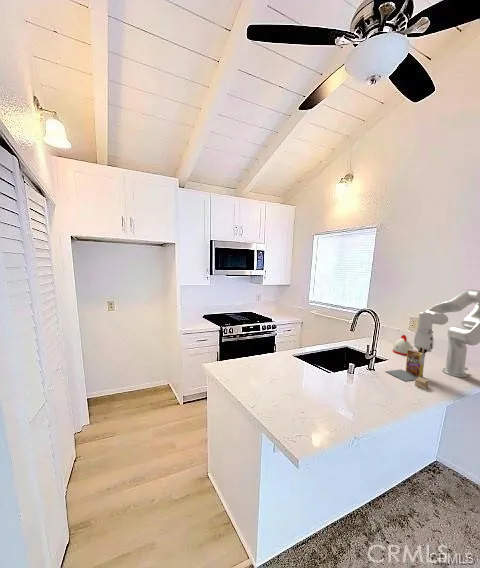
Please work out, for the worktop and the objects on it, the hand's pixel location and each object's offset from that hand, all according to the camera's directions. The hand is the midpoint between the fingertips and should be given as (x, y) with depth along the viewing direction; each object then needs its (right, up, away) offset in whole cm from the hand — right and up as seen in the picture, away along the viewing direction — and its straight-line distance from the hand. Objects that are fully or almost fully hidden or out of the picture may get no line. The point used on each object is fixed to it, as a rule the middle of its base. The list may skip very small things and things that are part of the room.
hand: (421, 358), depth 169 cm
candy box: (-6, -10, -1) cm, 12 cm away
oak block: (-13, -12, -18) cm, 25 cm away
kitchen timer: (+13, -8, +41) cm, 44 cm away
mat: (-15, -10, -4) cm, 18 cm away
